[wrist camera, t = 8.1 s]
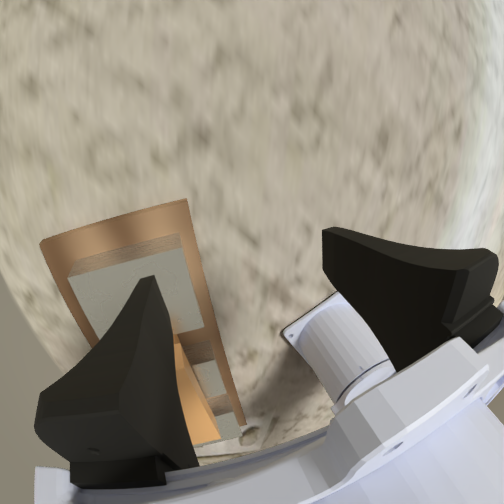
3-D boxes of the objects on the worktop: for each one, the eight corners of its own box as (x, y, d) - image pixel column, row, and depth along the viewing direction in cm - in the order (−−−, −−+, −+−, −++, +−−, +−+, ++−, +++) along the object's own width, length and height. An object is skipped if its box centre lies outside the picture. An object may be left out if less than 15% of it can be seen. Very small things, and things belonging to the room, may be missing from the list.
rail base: (186, 198, 19) (187, 201, 19) (245, 419, 34) (246, 424, 33) (42, 239, 17) (39, 244, 16) (164, 438, 32) (165, 442, 31)
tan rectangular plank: (176, 317, 22) (184, 367, 18) (209, 396, 28) (221, 438, 24) (131, 328, 22) (129, 379, 17) (175, 405, 27) (182, 447, 23)
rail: (179, 232, 19) (181, 247, 17) (237, 420, 32) (242, 435, 30) (75, 260, 18) (67, 278, 16) (177, 433, 30) (180, 449, 28)
